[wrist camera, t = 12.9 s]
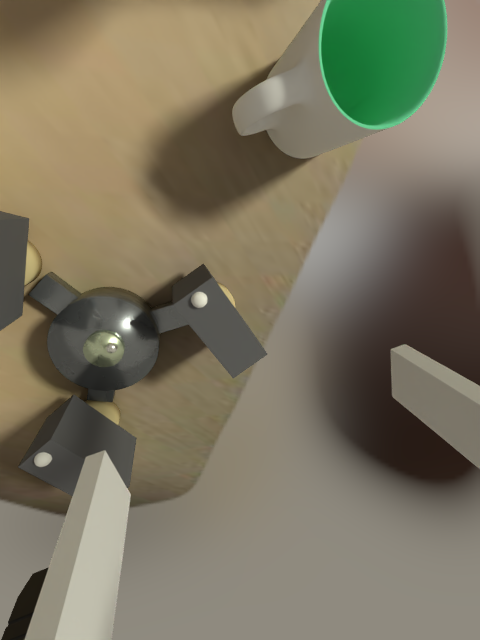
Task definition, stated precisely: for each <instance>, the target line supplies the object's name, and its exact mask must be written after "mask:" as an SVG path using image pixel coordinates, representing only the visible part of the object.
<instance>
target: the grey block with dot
mask: <svg viewBox="0 0 480 640" xmlns="http://www.w3.org/2000/svg"><path fill="white" fill-rule="evenodd" d="M28 228H29V218H25V217H21V216H17V215H13V214H9V213H5V212H2V211H0V330H2V329H3V328H5V327H6V326H8V325H9V324H10V323H12V322H13V321H15V320H16V319H18V318H19V317H20V316H22V312H23V298H24V285H26V284H28V283H30V282H32V281H34V280H35V279H36V278H37V277H38V276H39V274H40V272H41V269H42V260H41V256H40V254H39V252H38V250H37V249H36V248H35V246H34V245H33V244H32V243H31V242H29V241H28Z"/></svg>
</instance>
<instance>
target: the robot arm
mask: <svg viewBox="0 0 480 640" xmlns="http://www.w3.org/2000/svg"><path fill="white" fill-rule="evenodd" d="M391 373H392V397H394V398H395V399H396V400H397V401H398V402H400V403H401V404H402V405H403V406H404V407H406V408H407V409H408V410H409V411H410V412H412V413H413V414H414V415H415V416H417V417H418V418H419V419H420V420H421V421H423V422H424V423H425V424H426V425H427V426H428V427H430V428H431V429H432V430H433V431H435V432H436V433H437V434H438V435H439V436H441V437H442V438H443V439H444V440H445V441H447V442H448V443H449V444H450V445H451V446H453V447H454V448H455V449H456V450H458V451H459V452H460V453H461V454H462V455H464V456H465V457H466V458H467V459H468V460H470V461H471V462H472V463H473V464H474V465H476V466H477V467H478V468H479V469H480V386H479V385H477V384H475V383H473V382H471V381H470V380H468V379H466V378H464V377H462V376H461V375H459V374H457V373H456V372H454V371H452V370H450V369H448V368H447V367H445V366H443V365H441V364H440V363H437V362H436V361H434V360H432V359H431V358H429V357H427V356H425V355H423V354H422V353H420V352H418V351H416V350H414V349H413V348H411V347H409V346H407V345H406V344H405V345H402V346H399V347H396V348H393V349H391ZM130 497H131V494H130V492H129V491H128V489H127V487H126V485H125V484H124V482H123V480H122V479H121V477H120V475H119V473H118V472H117V470H116V468H115V466H114V465H113V463H112V461H111V460H110V458H109V456H108V454H107V453H106V451H105V450H104V451H101V452H98V453H95V454H93V455H90V456H87V457H86V458H85V461H84V464H83V467H82V470H81V473H80V476H79V479H78V482H77V485H76V488H75V491H74V494H73V497H72V500H71V503H70V506H69V509H68V512H67V515H66V518H65V521H64V524H63V527H62V530H61V533H60V536H59V539H58V542H57V545H56V548H55V551H54V553H53V556H52V560H51V563H50V565H49V568H46V569H44V570H41V571H39V572H36V573H34V574H33V575H32V576H31V578H30V579H29V581H28V582H27V584H26V585H25V587H24V589H23V590H22V592H21V593H20V595H19V596H18V598H17V601H16V603H15V606H14V608H13V611H12V614H11V616H10V619H9V621H8V624H9V625H8V627H6V629H5V631H4V634H3V637H2V639H1V640H111V639H112V632H113V625H114V617H115V609H116V602H117V593H118V587H119V579H120V572H121V563H122V557H123V549H124V541H125V533H126V527H127V519H128V512H129V504H130Z"/></svg>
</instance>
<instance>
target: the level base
mask: <svg viewBox="0 0 480 640" xmlns="http://www.w3.org/2000/svg"><path fill="white" fill-rule="evenodd" d="M28 295H30V296H31V297H32V298H34V299H35V300H37V301H38V302H40V303H41V304H43V305H44V306H46V307H47V308H49V309H50V310H51V311H53V312H54V313H56V314H57V316H56V318H55V319H54V320H53V322H52V324H51V326H50V329H49V332H48V337H47V346H48V352H49V355H50V358H51V360H52V362H53V364H54V365H55V367H56V368H57V369H58V370H59V371H60V373H61V374H62V375H64V376H65V377H66V378H67V379H69V380H70V381H72V382H74V383H75V384H77V385H80V386H82V387H85V388H88V395H87V400H92V401H103V402H113V398H114V395H115V390H118V389H122V388H126V387H128V386H131V385H133V384H135V383H137V382H138V381H140V380H141V379H143V378H144V377H145V376H146V375H147V374H148V373H149V372H150V370H151V369H152V367H153V366H154V364H155V362H156V359H157V356H158V351H159V339H160V333H163V332H166V331H169V330H172V329H176V328H179V327H182V326H185V325H188V323H187V322H186V320H185V319H184V318H183V317H182V316H181V314H180V313H179V312H178V311H177V310H176V308H175V307H174V306H173V301H172V302H169V303H166V304H162V305H159V306H155V307H152V308H151V306H150V305H149V304H148V303H147V302H146V301H145V300H144V299H142V298H141V297H140V296H138V295H136V294H135V293H133V292H130V291H128V290H125V289H121V288H115V287H101V288H96V289H92V290H89V291H86V292H84V293H82V294H81V293H80V292H78V291H77V290H76V289H74V288H73V287H72V286H70V285H69V284H68V283H66V282H65V281H63V280H62V279H61V278H59V277H58V276H57V275H55V274H54V273H53V272H50V273H48V274H46V275H45V277H44V278H43V279H42V280H41V281H40V282H39V283H38V284H37V285H36V287H35V288H34V289H33V290H32V291H31V292H30V293H29V294H28Z"/></svg>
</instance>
